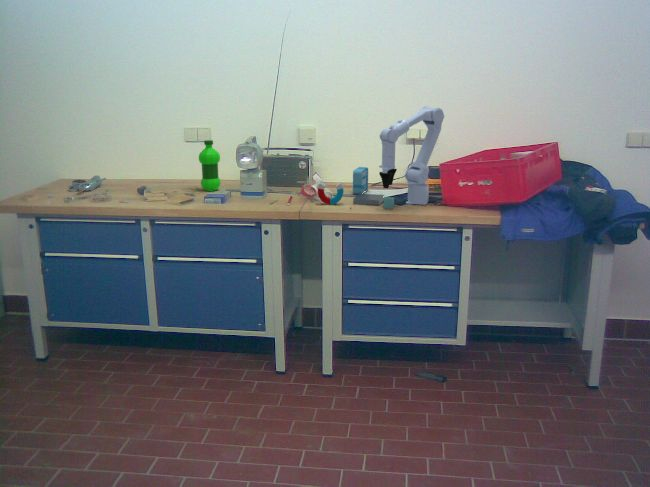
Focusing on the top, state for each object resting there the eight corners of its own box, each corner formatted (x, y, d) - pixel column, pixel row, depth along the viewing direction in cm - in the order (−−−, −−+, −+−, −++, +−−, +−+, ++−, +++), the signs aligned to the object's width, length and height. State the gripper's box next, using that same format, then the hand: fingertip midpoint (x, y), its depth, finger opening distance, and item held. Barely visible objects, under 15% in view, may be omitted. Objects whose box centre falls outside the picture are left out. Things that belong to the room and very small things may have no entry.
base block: (384, 200, 307) (384, 195, 307) (378, 205, 296) (378, 200, 296) (359, 198, 311) (359, 193, 310) (353, 204, 300) (353, 198, 299)
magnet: (343, 203, 301) (343, 182, 298) (343, 205, 298) (343, 183, 295) (318, 203, 301) (318, 182, 299) (317, 204, 299) (317, 183, 296)
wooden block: (393, 206, 294) (394, 197, 293) (392, 208, 291) (392, 199, 289) (385, 206, 296) (385, 196, 294) (383, 208, 292) (383, 198, 291)
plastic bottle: (222, 191, 327) (220, 141, 320) (201, 192, 324) (198, 142, 317) (220, 187, 336) (218, 139, 329) (200, 188, 334) (197, 139, 327)
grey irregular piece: (80, 185, 347) (108, 183, 345) (53, 201, 322) (83, 199, 319) (77, 175, 345) (105, 172, 343) (50, 190, 320) (80, 188, 317)
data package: (361, 195, 318) (361, 170, 315) (352, 194, 320) (352, 170, 316) (368, 190, 329) (368, 166, 326) (359, 189, 331) (359, 166, 327)
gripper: (383, 153, 295) (382, 182, 299) (375, 158, 282) (375, 189, 286) (398, 154, 293) (397, 183, 297) (391, 158, 280) (391, 190, 284)
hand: (387, 186), depth 291 cm, fingers open, 7 cm apart
